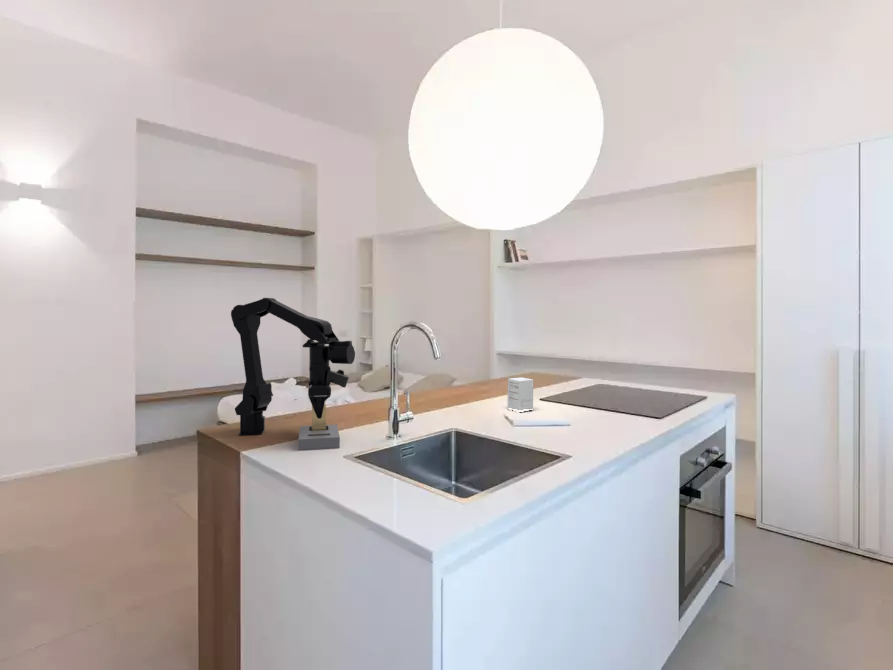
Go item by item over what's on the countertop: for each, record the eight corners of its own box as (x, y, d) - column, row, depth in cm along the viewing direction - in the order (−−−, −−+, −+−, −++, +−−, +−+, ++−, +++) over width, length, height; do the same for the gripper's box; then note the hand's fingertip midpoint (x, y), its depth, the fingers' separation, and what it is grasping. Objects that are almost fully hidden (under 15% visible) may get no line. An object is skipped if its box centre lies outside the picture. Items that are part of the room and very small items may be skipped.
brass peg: (311, 440, 142) (311, 406, 142) (311, 437, 146) (311, 404, 146) (325, 439, 143) (326, 406, 143) (325, 436, 147) (325, 403, 147)
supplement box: (520, 408, 196) (521, 377, 196) (533, 411, 190) (534, 379, 189) (506, 409, 192) (507, 378, 192) (519, 413, 186) (519, 380, 185)
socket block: (298, 450, 132) (298, 439, 132) (299, 435, 147) (299, 426, 147) (339, 448, 135) (339, 437, 134) (337, 433, 150) (337, 424, 150)
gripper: (349, 365, 137) (348, 420, 137) (345, 359, 155) (344, 408, 155) (308, 366, 134) (308, 422, 135) (308, 360, 152) (308, 409, 153)
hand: (319, 415), depth 144 cm, fingers open, 9 cm apart
